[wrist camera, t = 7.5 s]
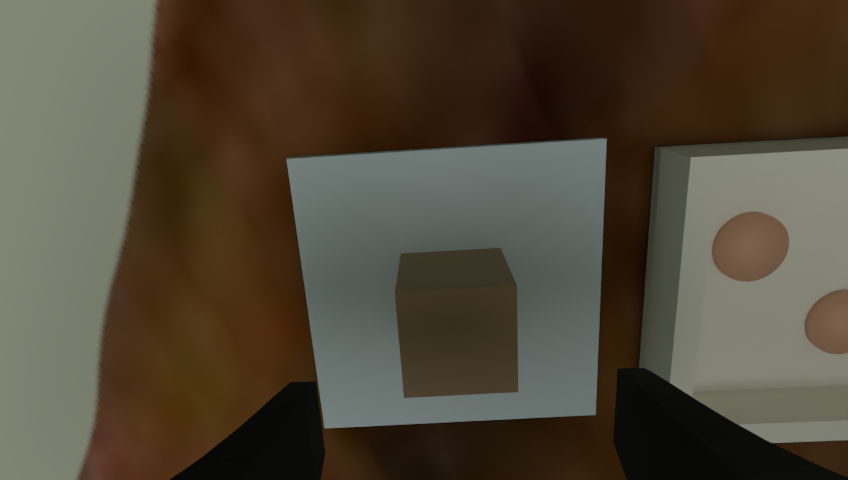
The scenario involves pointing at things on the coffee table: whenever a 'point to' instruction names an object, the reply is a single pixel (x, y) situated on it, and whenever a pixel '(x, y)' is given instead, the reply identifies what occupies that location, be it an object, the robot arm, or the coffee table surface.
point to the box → (752, 283)
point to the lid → (453, 280)
